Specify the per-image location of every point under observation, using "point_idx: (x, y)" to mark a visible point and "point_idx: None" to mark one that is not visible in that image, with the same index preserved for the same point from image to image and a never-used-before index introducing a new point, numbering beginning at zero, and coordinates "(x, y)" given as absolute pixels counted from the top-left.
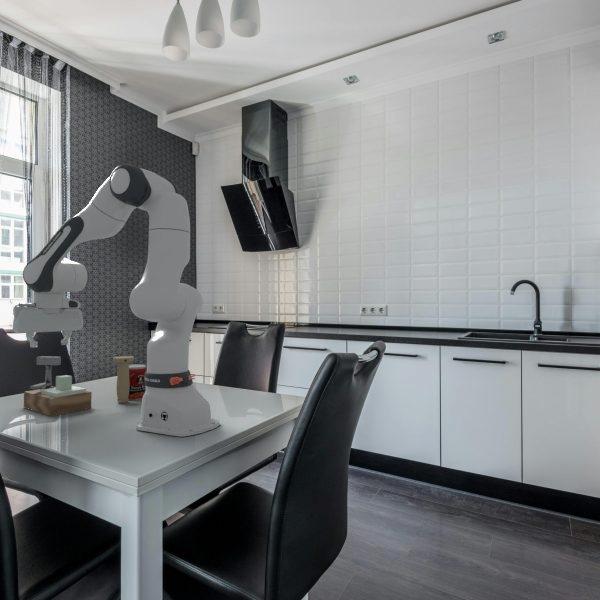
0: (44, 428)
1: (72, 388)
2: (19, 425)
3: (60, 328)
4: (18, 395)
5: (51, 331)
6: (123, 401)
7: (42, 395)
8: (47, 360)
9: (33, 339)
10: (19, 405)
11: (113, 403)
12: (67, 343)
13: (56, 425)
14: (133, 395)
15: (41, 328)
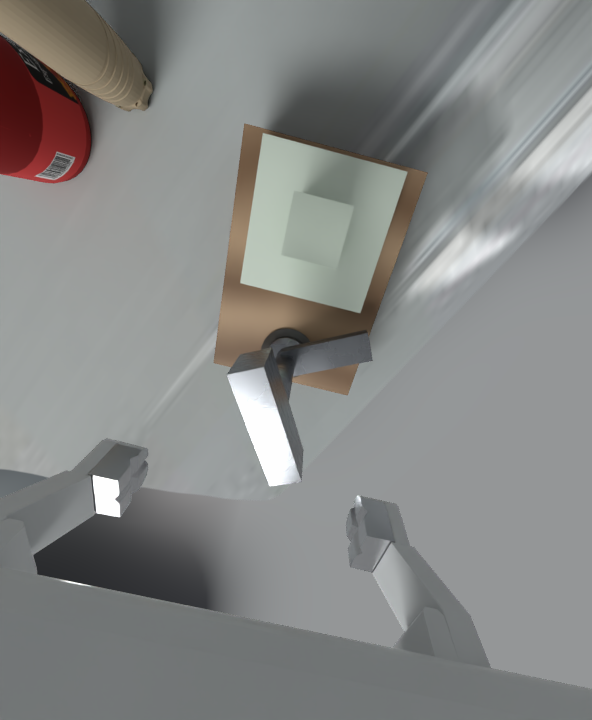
0: (572, 22)
1: (287, 208)
2: (536, 176)
3: (70, 632)
4: (244, 494)
5: (225, 614)
6: (138, 61)
7: (380, 276)
8: (285, 413)
9: (412, 566)
10: (325, 404)
11: (166, 118)
12: (109, 442)
13: (525, 14)
14: (59, 77)
15: (385, 718)
